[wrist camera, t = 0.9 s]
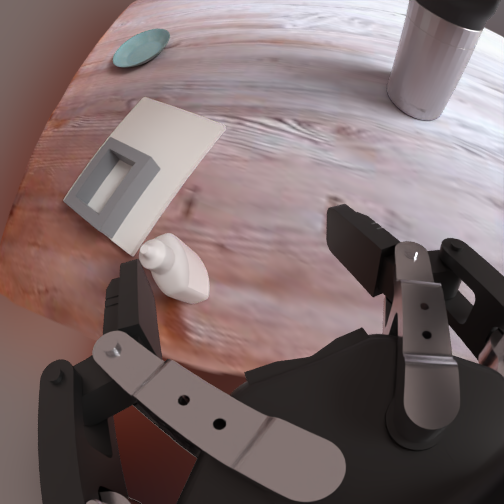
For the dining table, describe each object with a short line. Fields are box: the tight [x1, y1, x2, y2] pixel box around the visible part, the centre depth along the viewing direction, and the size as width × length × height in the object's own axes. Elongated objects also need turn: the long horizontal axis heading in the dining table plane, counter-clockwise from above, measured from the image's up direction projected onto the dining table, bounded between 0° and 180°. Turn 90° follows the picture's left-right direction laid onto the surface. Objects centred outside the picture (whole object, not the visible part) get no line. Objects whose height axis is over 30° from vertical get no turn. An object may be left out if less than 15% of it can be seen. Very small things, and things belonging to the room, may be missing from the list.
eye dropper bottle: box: [139, 233, 210, 304], centre depth 27 cm, size 4×6×12 cm
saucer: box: [113, 29, 170, 67], centre depth 45 cm, size 12×12×2 cm
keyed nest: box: [64, 97, 226, 257], centre depth 36 cm, size 20×16×4 cm
